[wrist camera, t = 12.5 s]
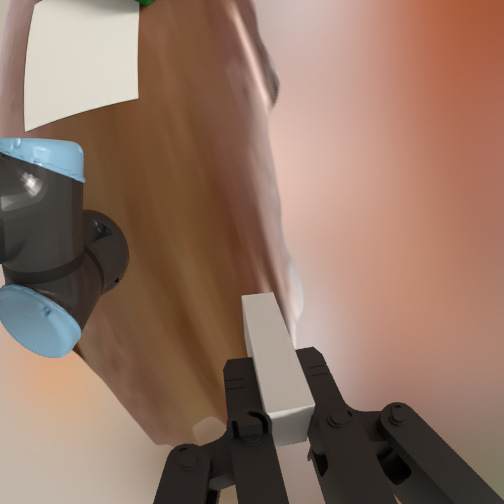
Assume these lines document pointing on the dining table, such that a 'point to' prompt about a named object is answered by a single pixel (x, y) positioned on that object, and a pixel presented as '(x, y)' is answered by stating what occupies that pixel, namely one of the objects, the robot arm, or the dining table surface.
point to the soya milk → (145, 2)
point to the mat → (79, 58)
